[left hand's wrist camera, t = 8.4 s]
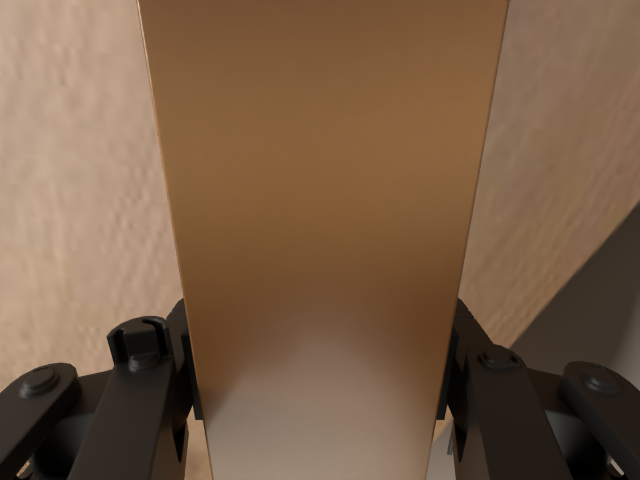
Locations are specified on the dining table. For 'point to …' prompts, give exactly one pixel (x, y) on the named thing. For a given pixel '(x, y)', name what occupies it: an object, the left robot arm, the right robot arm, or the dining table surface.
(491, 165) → the dining table surface
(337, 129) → the bar
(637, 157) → the dining table surface
